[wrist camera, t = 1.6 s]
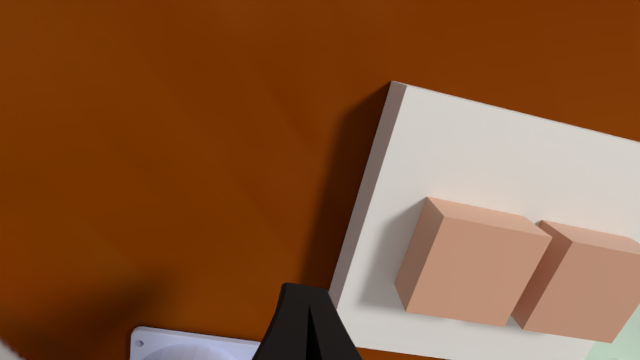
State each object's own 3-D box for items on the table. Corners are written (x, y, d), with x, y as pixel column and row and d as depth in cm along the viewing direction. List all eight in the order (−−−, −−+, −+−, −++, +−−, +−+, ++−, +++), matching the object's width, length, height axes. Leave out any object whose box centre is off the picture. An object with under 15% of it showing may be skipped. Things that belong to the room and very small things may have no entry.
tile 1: (580, 314, 19) (611, 343, 17) (499, 300, 18) (522, 329, 16) (629, 237, 17) (670, 260, 15) (541, 219, 16) (573, 241, 14)
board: (544, 342, 23) (572, 375, 20) (323, 309, 21) (326, 342, 18) (663, 148, 18) (717, 162, 16) (391, 80, 16) (407, 85, 14)
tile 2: (482, 298, 18) (503, 327, 16) (394, 283, 17) (405, 312, 15) (523, 216, 16) (552, 237, 14) (427, 196, 15) (444, 216, 14)
